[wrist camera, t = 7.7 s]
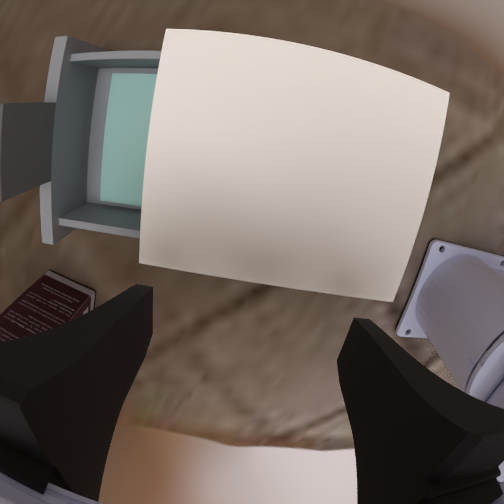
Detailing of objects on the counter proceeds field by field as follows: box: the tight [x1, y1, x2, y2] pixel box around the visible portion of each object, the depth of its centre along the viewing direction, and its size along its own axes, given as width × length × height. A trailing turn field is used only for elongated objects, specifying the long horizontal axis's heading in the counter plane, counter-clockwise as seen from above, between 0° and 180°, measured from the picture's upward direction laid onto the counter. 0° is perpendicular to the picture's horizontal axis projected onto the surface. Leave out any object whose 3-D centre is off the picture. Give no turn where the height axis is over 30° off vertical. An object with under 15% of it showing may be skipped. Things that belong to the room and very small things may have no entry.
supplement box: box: [0, 271, 95, 342], centre depth 16 cm, size 9×5×16 cm, turn 159°
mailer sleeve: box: [139, 29, 450, 302], centre depth 16 cm, size 13×11×6 cm
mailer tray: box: [0, 36, 161, 245], centre depth 14 cm, size 13×11×9 cm
